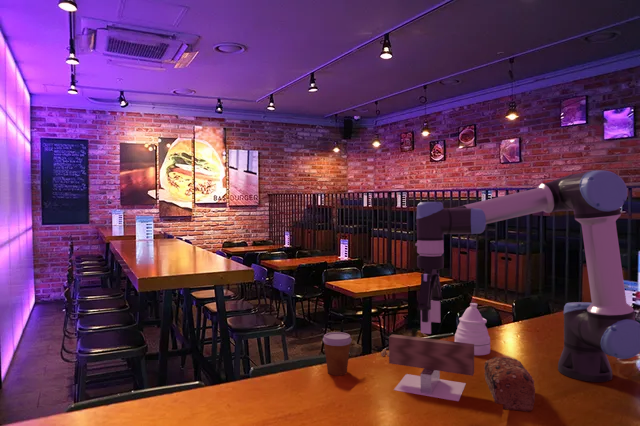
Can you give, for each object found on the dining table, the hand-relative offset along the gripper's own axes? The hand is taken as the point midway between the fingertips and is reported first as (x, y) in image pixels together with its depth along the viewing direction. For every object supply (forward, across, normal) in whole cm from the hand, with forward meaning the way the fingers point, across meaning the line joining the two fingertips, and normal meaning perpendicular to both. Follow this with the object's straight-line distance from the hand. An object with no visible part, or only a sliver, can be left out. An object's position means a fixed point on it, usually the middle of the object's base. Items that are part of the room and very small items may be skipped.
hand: (431, 327), depth 130 cm
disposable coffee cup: (+19, -3, -31) cm, 37 cm away
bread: (+19, -6, +20) cm, 28 cm away
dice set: (+20, -27, -22) cm, 40 cm away
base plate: (+19, 0, 0) cm, 19 cm away
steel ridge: (+17, 0, 0) cm, 17 cm away
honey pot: (+19, -47, +6) cm, 51 cm away
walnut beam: (+12, 0, 0) cm, 12 cm away
